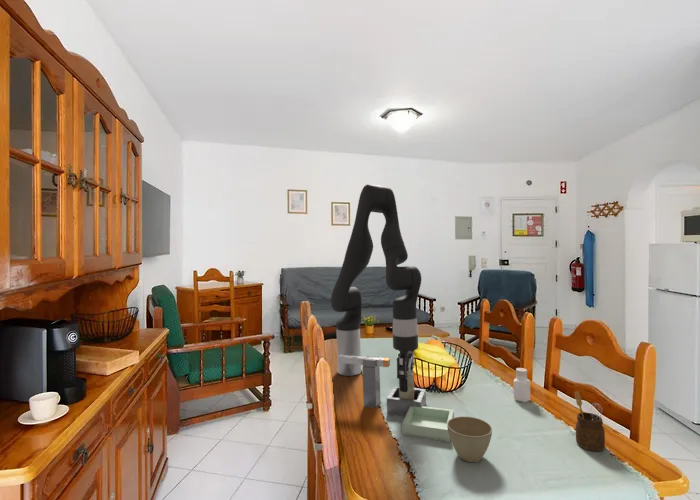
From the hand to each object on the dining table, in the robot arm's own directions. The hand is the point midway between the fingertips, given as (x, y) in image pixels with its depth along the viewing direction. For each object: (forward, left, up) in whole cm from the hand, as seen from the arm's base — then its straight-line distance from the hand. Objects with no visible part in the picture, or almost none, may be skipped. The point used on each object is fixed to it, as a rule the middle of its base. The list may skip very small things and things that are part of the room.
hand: (406, 386), depth 114 cm
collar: (0, 0, -7) cm, 7 cm away
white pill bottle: (-16, +33, -7) cm, 37 cm away
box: (0, 0, -7) cm, 7 cm away
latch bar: (0, -14, +6) cm, 15 cm away
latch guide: (0, -11, -7) cm, 13 cm away
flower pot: (+21, +19, -7) cm, 29 cm away
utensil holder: (+8, +46, -7) cm, 47 cm away
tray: (+10, +8, -7) cm, 14 cm away
